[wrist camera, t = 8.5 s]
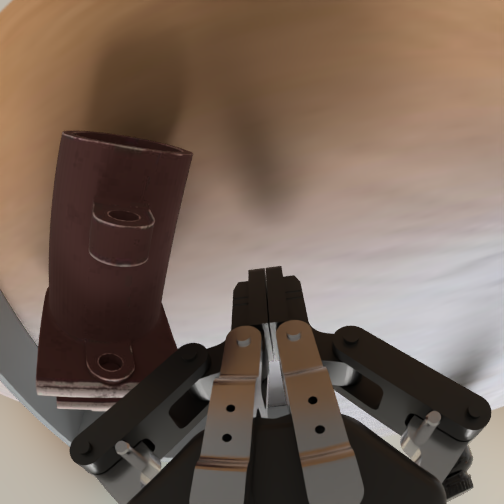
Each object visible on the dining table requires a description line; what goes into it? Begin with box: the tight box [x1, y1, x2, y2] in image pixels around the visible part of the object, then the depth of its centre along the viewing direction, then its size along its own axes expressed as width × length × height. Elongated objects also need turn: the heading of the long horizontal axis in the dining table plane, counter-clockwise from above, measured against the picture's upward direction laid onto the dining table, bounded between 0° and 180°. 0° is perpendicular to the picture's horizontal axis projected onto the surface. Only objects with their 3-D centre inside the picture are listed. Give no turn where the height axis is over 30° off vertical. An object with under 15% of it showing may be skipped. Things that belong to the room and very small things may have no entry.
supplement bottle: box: [442, 445, 473, 502], centre depth 25 cm, size 7×7×12 cm
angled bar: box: [0, 290, 288, 462], centre depth 18 cm, size 25×28×5 cm
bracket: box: [36, 131, 193, 411], centre depth 14 cm, size 6×17×10 cm, turn 164°
